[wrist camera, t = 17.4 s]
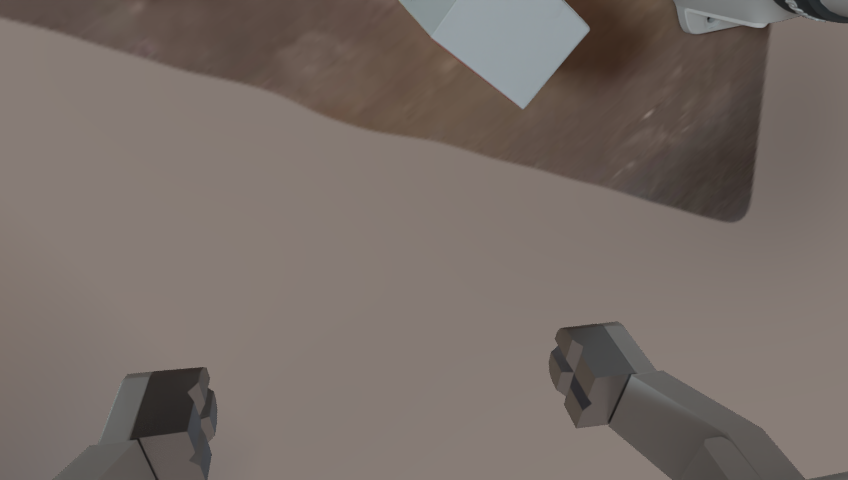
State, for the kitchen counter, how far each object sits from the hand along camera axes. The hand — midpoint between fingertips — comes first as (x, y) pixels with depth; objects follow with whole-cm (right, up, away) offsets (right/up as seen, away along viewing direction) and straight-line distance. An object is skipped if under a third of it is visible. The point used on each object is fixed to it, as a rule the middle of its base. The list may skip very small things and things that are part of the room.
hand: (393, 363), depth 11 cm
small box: (+3, +22, +28) cm, 36 cm away
